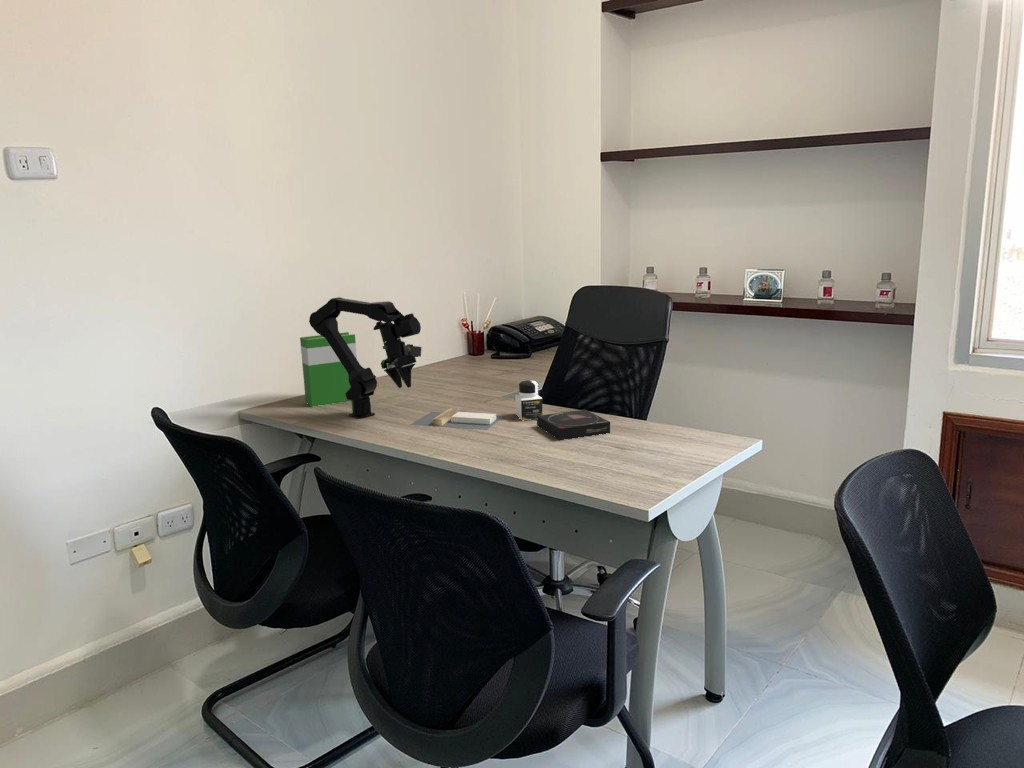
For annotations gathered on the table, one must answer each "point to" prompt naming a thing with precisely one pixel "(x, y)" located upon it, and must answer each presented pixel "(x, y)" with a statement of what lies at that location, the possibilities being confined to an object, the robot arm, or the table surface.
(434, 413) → the mat
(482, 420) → the tile
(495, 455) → the table surface
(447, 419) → the ledge
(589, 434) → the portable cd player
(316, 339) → the hardback book
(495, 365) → the table surface
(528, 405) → the medicine bottle
